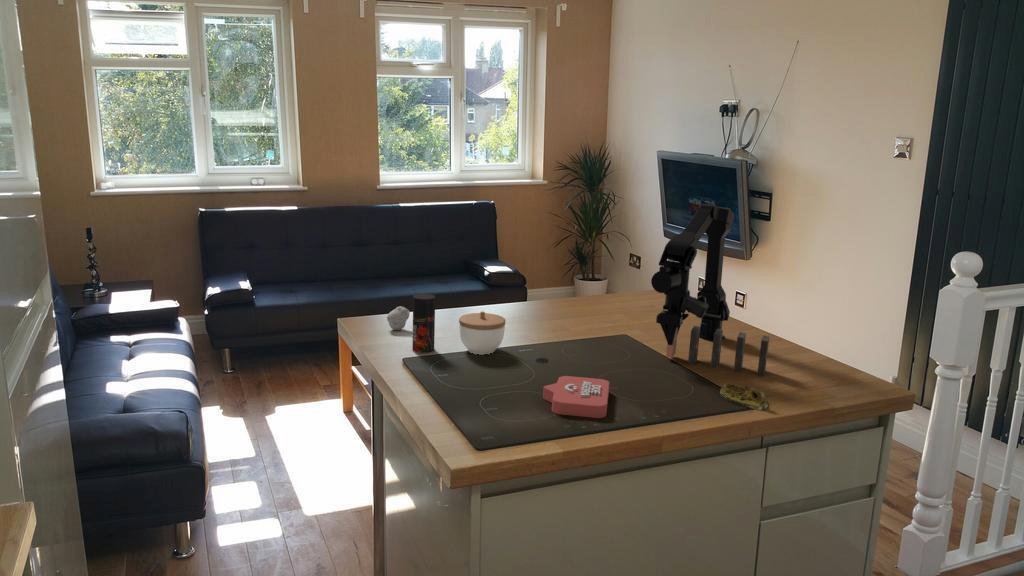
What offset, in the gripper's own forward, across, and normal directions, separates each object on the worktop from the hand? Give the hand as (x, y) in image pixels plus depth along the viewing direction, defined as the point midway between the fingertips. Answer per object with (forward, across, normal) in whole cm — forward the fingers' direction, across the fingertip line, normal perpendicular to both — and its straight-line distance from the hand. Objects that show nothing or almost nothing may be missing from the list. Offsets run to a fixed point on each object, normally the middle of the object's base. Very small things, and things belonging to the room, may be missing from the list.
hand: (672, 342), depth 213 cm
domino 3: (+5, 0, -12) cm, 13 cm away
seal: (+5, -22, -22) cm, 31 cm away
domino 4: (+5, 0, -18) cm, 19 cm away
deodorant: (+5, -27, +62) cm, 68 cm away
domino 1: (+4, 0, 0) cm, 4 cm away
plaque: (+5, -43, +14) cm, 45 cm away
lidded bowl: (+5, -20, +48) cm, 52 cm away
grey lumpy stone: (+5, -14, +78) cm, 79 cm away
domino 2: (+5, 0, -6) cm, 8 cm away
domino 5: (+5, 0, -24) cm, 24 cm away
